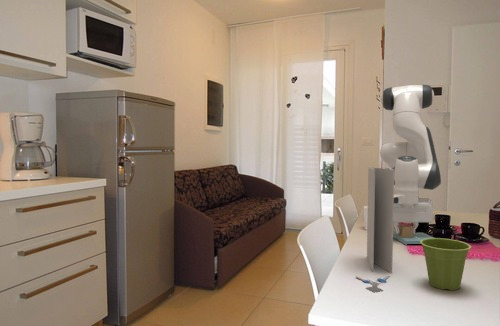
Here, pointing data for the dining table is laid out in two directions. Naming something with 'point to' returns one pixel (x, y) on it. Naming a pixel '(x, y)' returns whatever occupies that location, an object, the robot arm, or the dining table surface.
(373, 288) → the blue grey flat piece
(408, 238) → the stub
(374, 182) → the brochure
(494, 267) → the dining table surface
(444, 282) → the plant pot
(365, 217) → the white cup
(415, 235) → the teal flat block
